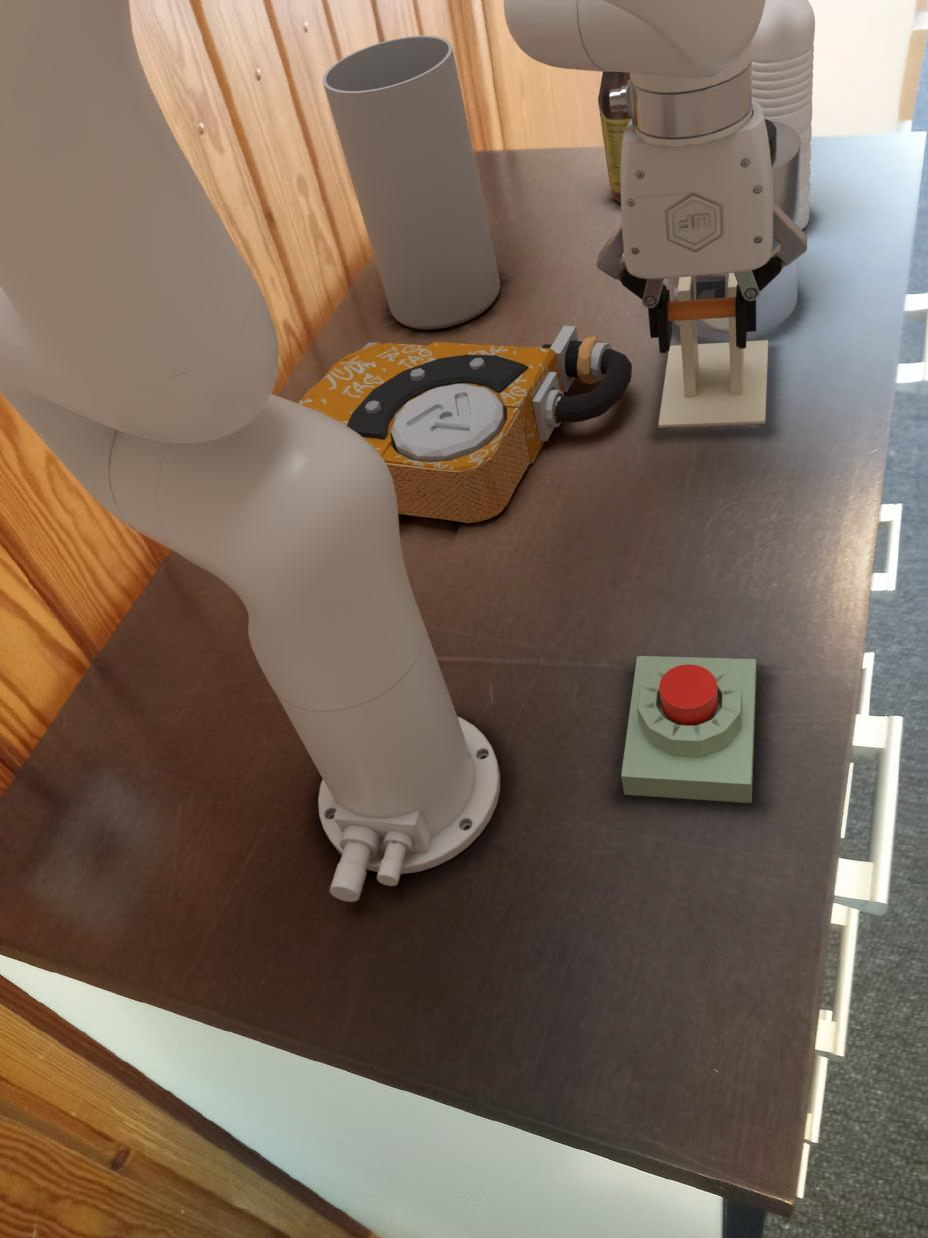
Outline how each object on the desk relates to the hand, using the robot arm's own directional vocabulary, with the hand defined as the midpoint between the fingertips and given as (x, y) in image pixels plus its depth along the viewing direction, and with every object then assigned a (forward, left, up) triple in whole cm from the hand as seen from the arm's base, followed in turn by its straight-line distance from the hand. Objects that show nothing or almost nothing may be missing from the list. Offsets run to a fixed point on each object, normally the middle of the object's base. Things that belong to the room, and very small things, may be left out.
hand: (703, 338), depth 79 cm
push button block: (-29, 0, -12) cm, 31 cm away
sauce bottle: (+48, +11, -12) cm, 51 cm away
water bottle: (+37, -5, -12) cm, 39 cm away
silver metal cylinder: (+22, -1, -12) cm, 25 cm away
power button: (-29, -1, -8) cm, 30 cm away
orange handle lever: (+4, 0, -1) cm, 4 cm away
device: (+2, +23, -12) cm, 26 cm away
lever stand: (+9, 0, -12) cm, 15 cm away
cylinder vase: (+28, +30, -12) cm, 43 cm away
